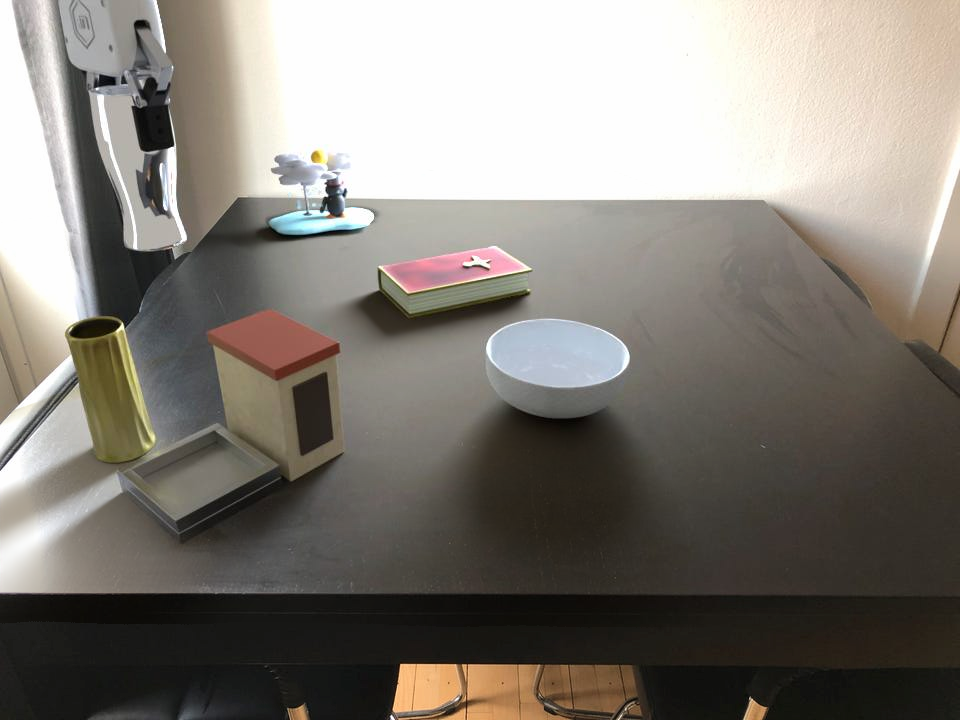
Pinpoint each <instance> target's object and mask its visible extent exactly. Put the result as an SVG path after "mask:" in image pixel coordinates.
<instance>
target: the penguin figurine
mask: <svg viewBox="0 0 960 720" xmlns="http://www.w3.org/2000/svg"><path fill="white" fill-rule="evenodd" d="M353 158H354V156H353V153H351V152H349V151H329V152H326V151H324V150H322V149H316V150H314V151H313V152H312V153H311V155H310V161H311V163H309V161H308V160H306V159H305V157H303V158H302V156H301V151H300V154H299V153H283V154H282V153H281V154H277V155H275V157H274V158H273V160H274V162H275V163H276V164H278V166H274V167H271V168H270V171H271V173H272V174H274V175H278V176H279V177H278V181H279V184H280V185H282V186H296V185H299V184H300V186H302V187H303V188H301V189H300V191H303V193H302V194H303V195H304V202H305V203H304V206H305V210H302V208H303V203H302V202H303V200H302V201H301V200H300V199H298V200H297V205H298V206H297V207H296V209H297V210H299V211H293V212H289V213H286V214H284V215H280V216H277V217H274V218H271V219H270V220H269V221H268V225H269V226H270V227H271V228H272V229H273V230H274V231H276V232H277V233H279V234H282V235H289V236H290V235H291V236H303V235H312V234H318V233H324V232H329V231H338V230H339V231H340V230H342V231H343V230H346V231H347V230H356V229H361V228H364V227H367V226H369V225H370V223H371V222H372V221H373V220H374V218H375V216H374V213H373V212H371V211H370V210H369V209H365V208H362V207H346V200H347V195H348V192H349V189H348V188H346V187H344V186H343V185H344V184H345V182H344V181H342V173H341V172H340V171H338V170H343V171H345V170H352V169H355V162H354V161H353V160H352V159H353ZM320 179H321V180H326V182H324V183H323V184H324V185H325V188H324V192H325V193H326V195H324V196H323V197H322V201H321V203H318V208H319V210H316V209H315V210H314V209H313V210H312V209H311V210H310V208H309V207H310V206H312V207H313V208H315V207H317V203H315V202H313V203H311V205H310V203H309V201H310V198H308V196H311V195H313V193H316V192H317V194H319V195H320V194H322V191H321V190H320V189H318V191H317V188H315V186H314V185H317V184H318V183H319V181H320ZM310 186H313V193H311V190H310V188H309V189H308V188H307V187H310ZM287 196H288V197H289V199H291V197H293V194H291V193H289V194H287ZM326 210H327V211H326Z"/></svg>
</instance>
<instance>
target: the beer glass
mask: <svg viewBox="0 0 960 720" xmlns="http://www.w3.org/2000/svg"><path fill="white" fill-rule="evenodd" d="M140 84H141V87H142V89H143V87H144V85H145V83H140ZM88 95H89V101H90V110H91V117H92V125H93V129H94V135H95V138H96V142H97V146H98V150H99V154H100V156H101V157H100V158H101V159H102V162H103V165H104V168H105V170H106V172H107V175H108V177H109V180H110V182H111V184H112V185H111V186H112V187H113V190H114V192H115V195H116V197H117V200H118V203H119V206H120V210H121V215H122V221H123V244H124V247H125V248H127V249H129V250H132V251H138V252H158V251H166V250H170V249H174V248H177V247H180V246H181V245H184V244H185V243H186V241H188V234H187V231H186V229H185V227H184V224H183V222H182V218H181V215H180V212H179V211H180V210H179V206H178V199H177V177H178V175H177V173H178V172H177V171H178V170H177V169H178V166H177V161H178V160H177V159H178V158H177V144H176V137H175V136H176V135H175V129H174V125H173V121H172V120H173V119H172V116H171V111H170V110H169V114H170V120H171V126H172V131H173V137H174V143H175V145H174V147H173V148H169V149H163V150H158V151H152V152H144V151H142V150H141V149H140V146H139V141H138V136H137V131H136V126H135V120H134V115H133V110H132V107H138V106H137V105H136V103H135V100H134V98H133V95H132V93H131V91H130V88H129V86H128V83H125V84H122V83H121V84H120V85H108V86H101V87H96V88H92V89H90V90H89V93H88ZM168 108H169V106H168ZM169 109H170V108H169Z"/></svg>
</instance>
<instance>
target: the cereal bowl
mask: <svg viewBox="0 0 960 720" xmlns="http://www.w3.org/2000/svg"><path fill="white" fill-rule="evenodd" d="M484 358H485V360H484V363H485V369H486V371H485V372H486V375H487V379H488V381H489V384H490V385H491V387H492V389H493V390H494V392H495V393H496V394H497V395H498V396H499V397H500V398H501V399H502V400H503V401H505V402H506V404H508V405H510V406H512V407H514V408H515V409H517V410H520V411H522V412H525V413H527V414H529V415H533V416H538V417H541V418H542V417H543V418H547V419H554V420H555V419H575V418H581V417H586V416H589V415H593V414H595V413H598V412H599V411H601V410H604V409H605V408H606V407H608V406H609V405H610V404H612V403H613V402H614V401H615V400H616V399H617V398H618V397H619V395H620V394H621V393H622V391H623V389H624V386H625V385H626V382H627V379H628V376H629V370H630V364H631V357H630V353H629V350H628V348H627V346H626V345H625V344H624V343H623V341H622V340H620V339H619V338H617V337H616V336H615V335H613V334H611V333H610V332H608V331H606V330H604V329H601V328H599V327H596V326H593V325H590V324H586V323H582V322H578V321H573V320H567V319H558V318H557V319H556V318H539V319H538V318H537V319H528V320H522V321H518V322H515V323H511V324H508V325H505V326H504V327H502V328H500V329H498V330H497V331H496V332H494V333H493V334H491V336H490V337H489V338H488V340H487V343H486V346H485V354H484Z"/></svg>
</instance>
